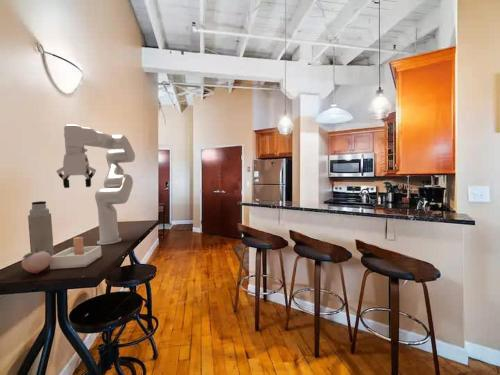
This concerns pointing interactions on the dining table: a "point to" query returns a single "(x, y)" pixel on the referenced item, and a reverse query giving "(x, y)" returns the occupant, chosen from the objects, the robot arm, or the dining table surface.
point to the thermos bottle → (40, 228)
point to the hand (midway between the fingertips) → (77, 187)
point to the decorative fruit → (36, 261)
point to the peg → (78, 246)
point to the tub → (75, 258)
